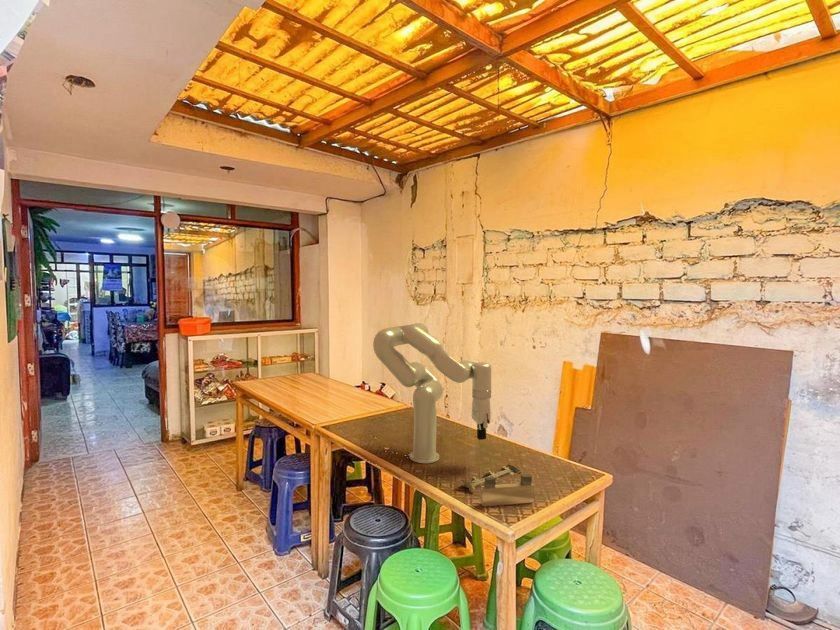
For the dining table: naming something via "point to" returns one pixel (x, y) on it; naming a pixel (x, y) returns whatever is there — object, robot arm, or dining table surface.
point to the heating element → (479, 483)
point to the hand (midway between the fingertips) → (481, 438)
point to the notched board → (507, 492)
